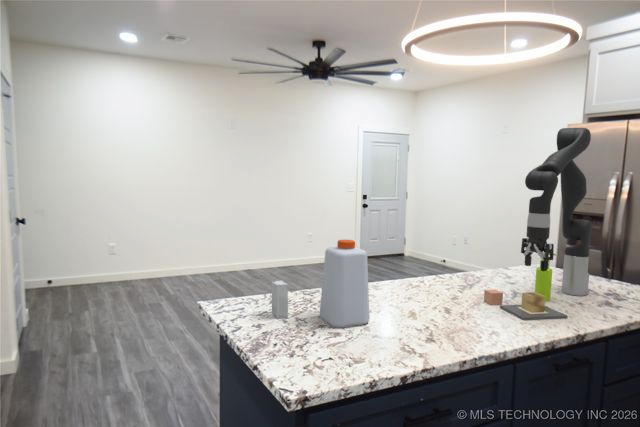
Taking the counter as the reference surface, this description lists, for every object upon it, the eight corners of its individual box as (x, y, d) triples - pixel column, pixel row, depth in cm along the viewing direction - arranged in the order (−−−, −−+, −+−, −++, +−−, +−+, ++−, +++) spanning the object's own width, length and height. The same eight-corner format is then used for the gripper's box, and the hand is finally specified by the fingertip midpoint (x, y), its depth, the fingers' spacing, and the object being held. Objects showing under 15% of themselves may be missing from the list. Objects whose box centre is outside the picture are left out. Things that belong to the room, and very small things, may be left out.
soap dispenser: (554, 302, 170) (558, 254, 169) (536, 300, 172) (540, 253, 170) (549, 298, 176) (553, 252, 174) (532, 296, 178) (535, 251, 176)
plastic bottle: (315, 315, 148) (317, 238, 146) (353, 310, 154) (355, 236, 152) (333, 330, 134) (335, 245, 132) (374, 324, 140) (376, 243, 138)
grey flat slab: (540, 306, 165) (540, 303, 165) (567, 318, 151) (567, 315, 151) (499, 307, 161) (499, 305, 161) (523, 320, 148) (523, 317, 147)
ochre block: (533, 307, 159) (535, 292, 159) (544, 312, 154) (545, 296, 153) (521, 308, 158) (522, 292, 158) (531, 312, 153) (532, 296, 152)
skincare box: (288, 317, 145) (289, 284, 144) (276, 319, 143) (277, 285, 142) (282, 312, 151) (282, 279, 150) (270, 313, 149) (271, 281, 148)
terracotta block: (494, 301, 170) (495, 289, 170) (502, 305, 165) (503, 292, 165) (483, 301, 169) (484, 289, 169) (490, 305, 164) (491, 293, 164)
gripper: (561, 227, 147) (558, 272, 148) (534, 222, 161) (531, 263, 162) (543, 228, 145) (540, 273, 147) (516, 223, 159) (514, 264, 161)
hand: (535, 268), depth 155 cm, fingers open, 8 cm apart
